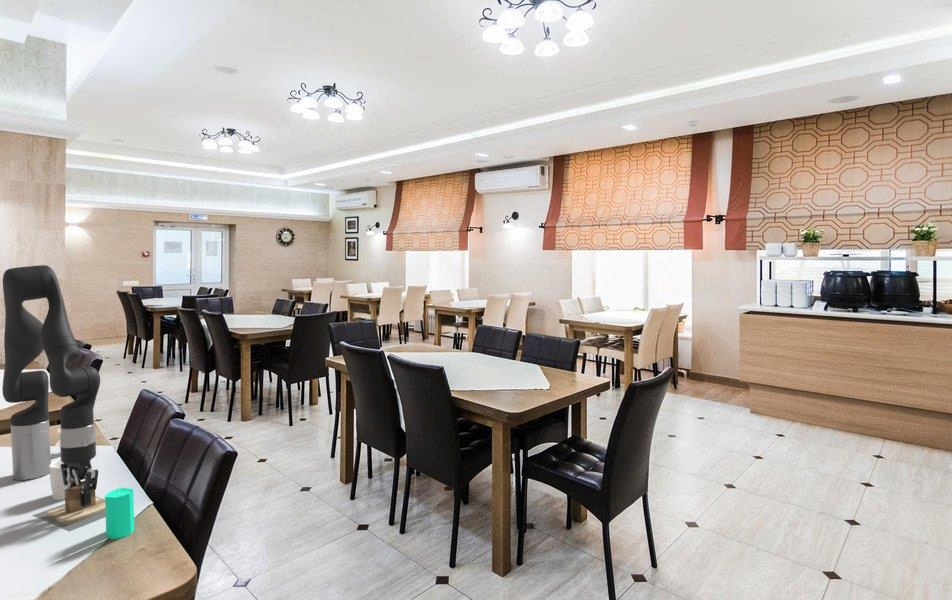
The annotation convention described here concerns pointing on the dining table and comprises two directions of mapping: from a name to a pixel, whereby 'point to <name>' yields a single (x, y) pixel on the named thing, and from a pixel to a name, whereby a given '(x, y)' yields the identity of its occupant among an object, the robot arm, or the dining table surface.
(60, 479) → the white cup
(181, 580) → the dining table surface
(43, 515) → the mat
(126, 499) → the candle
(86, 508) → the lid
